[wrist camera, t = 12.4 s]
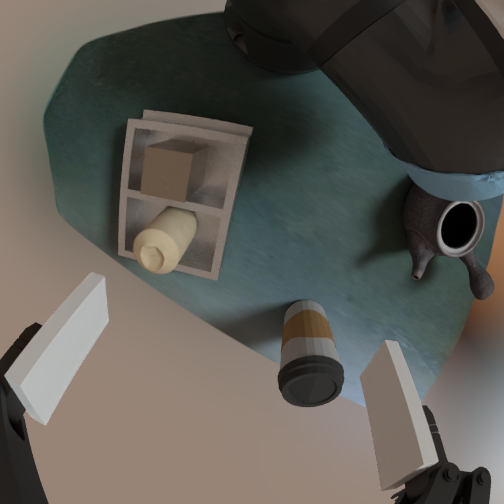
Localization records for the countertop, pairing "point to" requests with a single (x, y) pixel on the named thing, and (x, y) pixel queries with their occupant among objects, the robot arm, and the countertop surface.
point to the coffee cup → (308, 357)
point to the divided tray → (202, 201)
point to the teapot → (445, 235)
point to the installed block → (174, 169)
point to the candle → (165, 240)
